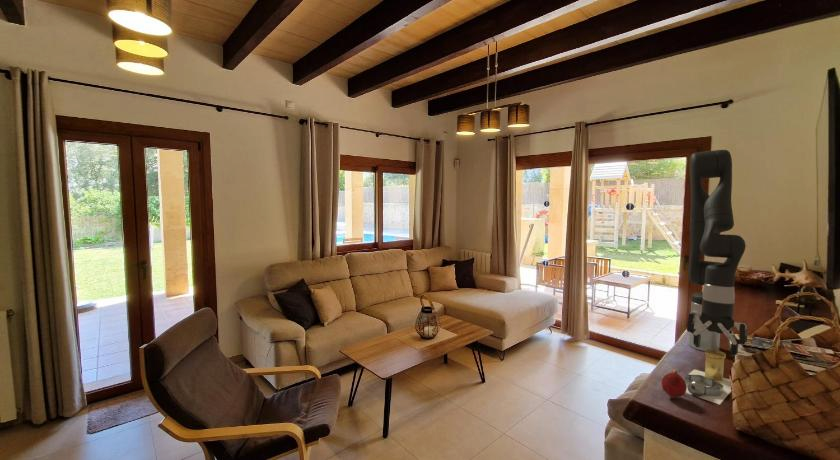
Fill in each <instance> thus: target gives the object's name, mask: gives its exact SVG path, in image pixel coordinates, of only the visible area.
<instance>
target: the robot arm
mask: <svg viewBox="0 0 840 460" xmlns="http://www.w3.org/2000/svg"><path fill="white" fill-rule="evenodd" d="M714 178H716V179H717V178H719V182H718V183H717V186H716V187H715V189H714V190H713V191H712V192H711V194H709V193H708V192H707V190H706V189H705V187H704V185H703V183H702V180H703V179H714ZM689 180H690V215H689V232H690V233H689V234H690V235H689V236H690V247H689V249H690V250H689V259H688V274H687V275H688V280H689V282H690V283H691V284H693V285H701V286H703V291H702V292H695V293H693V294H692V295H691V303H690V313H689V314H688V318H687V326H686V332H688V333H689V334H688V335H689V336H688V346H689V347H691V348H693V349H695V350H700V351H702V352H703V351H704V352H705V350H706V349H713V350H718V351H720V344H721V343H720V340H721V335H722V334H724V335H725V337H726V338H727V339H728V340H729V341H730V349H729V350H730V351H729V356H730V357H734V356H737V354H738V353H739V345H746V343H748V324H747V323H746V322H736V321H735V319H734V309H735V299H736V297H735V295H736V293H735V282H736V280H735V279H736V272H737V270H738V266H739V263H740V262H741V260H742V257H743V256H744V253H745V251H746V247H747V246H746V245H747V244H746V241H745V239H744V238H743V237H742V236H740V235H737V234H721V233H724V232H728V231H731V230H732V229H733V227H735V220H734V219H735V218H734V213H733V208H732V206H733V205H732V194H733V193H732V192H733V190H732V189H733V158H732V155H731V153H730V151H729V150H727V149H716V150H715V149H714V150H706V151H698V152H694V153H692V154H691V156H690V159H689ZM702 255H704V256H706V257H710V258H722V259H723V258H725V261H723V262H721V261H720V262H719V261H710V260H709V261H708V260H701V257H702ZM733 327H735V328H736V329H737V330H738V331H739V338H738V337H737V336H736V335H735V333H734V332H733V330H732V328H733Z"/></svg>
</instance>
